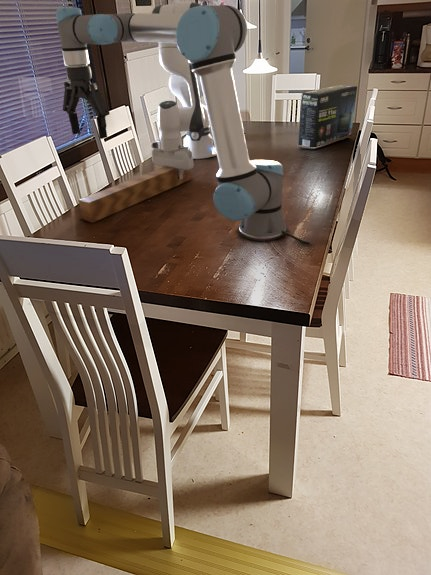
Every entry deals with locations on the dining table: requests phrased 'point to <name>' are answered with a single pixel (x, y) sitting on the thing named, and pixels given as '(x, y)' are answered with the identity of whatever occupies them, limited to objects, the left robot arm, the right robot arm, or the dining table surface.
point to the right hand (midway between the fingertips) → (89, 135)
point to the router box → (326, 115)
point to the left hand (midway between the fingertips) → (173, 177)
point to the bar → (130, 193)
